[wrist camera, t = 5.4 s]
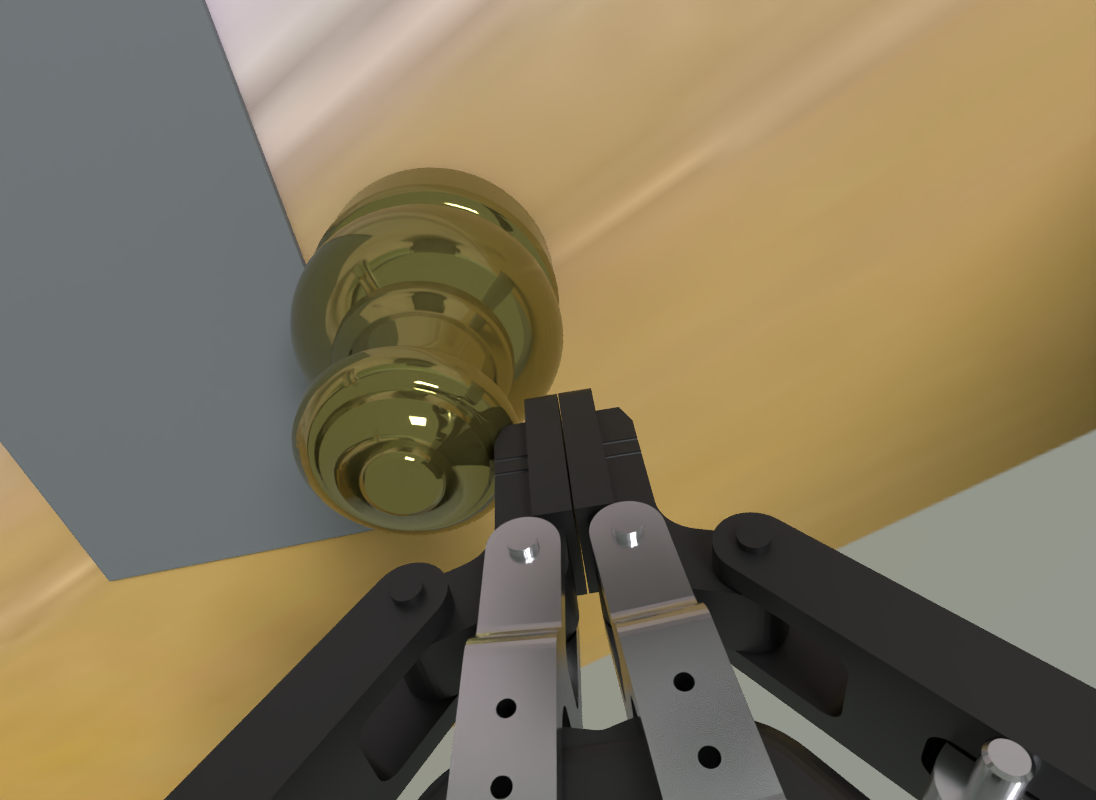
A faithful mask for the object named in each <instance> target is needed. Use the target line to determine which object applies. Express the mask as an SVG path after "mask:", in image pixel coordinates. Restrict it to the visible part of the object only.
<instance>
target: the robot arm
mask: <svg viewBox="0 0 1096 800" xmlns="http://www.w3.org/2000/svg"><path fill="white" fill-rule="evenodd" d="M558 396H559V403H560V409H559V403H558V397H557V394H553V395H547V396H541V397H535V398H529V399H524V408H525V422H524V423H518V424H512V425H506V426H503V428H502V430H501V432H500V433H499V435H498V437H497V439H496V441H495V442H494V460H495V463H494V466H495V531H494V532H493V533H492V534H491V536H490V537H489V539H488V541H487V544H486V549H485V550H484V551H483V553H481V554H480V555H479V556H478V557H477V558H475V559H474V560H472V561H471V562H469V563H467V564H465V565H463V566H460V567H458V568H456V569H453V570H451V571H449V572H446V573H443V572H442V571H441V570H440V569H439V568H437V567H436V566H434V565H431V564H427V563H411V564H407V565H403V566H401V567H398V568H396V569H394V570H392V571H391V572H389V573H388V574H386V575H385V576H384V577H383V578H382V579H381V580H380V581H379V582H378V583H377V584H376V585H375V586H374V587H373V588H372V589H371V590H370V591H369V592H368V593H367V594H366V595H365V596H364V597H363V598H362V599H361V600H360V601H359V602H358V603H357V604H356V605H355V606H354V607H353V608H352V609H351V610H350V611H349V612H348V613H347V614H346V615H345V616H344V617H343V618H342V619H341V620H340V621H339V622H338V623H337V625H336V626H335V627H334V628H333V629H332V630H331V631H330V632H329V633H328V634H327V635H326V636H325V637H324V638H323V639H322V640H321V641H320V642H319V643H318V644H317V645H316V646H315V647H314V648H313V649H312V650H311V651H310V652H309V653H308V654H307V655H306V656H305V657H304V658H303V659H302V660H301V661H300V662H299V663H298V664H297V665H296V666H295V667H294V668H293V669H292V670H291V671H290V672H289V673H288V674H287V675H286V676H285V677H284V678H283V679H282V680H281V681H280V682H279V683H278V684H277V685H276V686H275V687H274V688H273V689H272V690H271V692H270V693H269V694H268V695H267V696H266V697H265V698H264V699H263V700H262V701H261V702H260V703H259V704H258V705H257V706H256V707H255V708H254V709H253V710H252V711H251V712H250V713H249V714H248V715H247V716H246V717H245V718H244V719H243V720H242V721H241V722H240V723H239V724H238V725H237V726H236V727H235V728H234V729H233V730H232V731H231V732H230V733H229V734H228V735H227V736H226V737H225V738H224V739H223V740H222V741H221V742H220V743H219V744H218V745H217V746H216V747H215V748H214V749H213V750H212V751H211V752H210V753H209V754H208V755H207V756H206V757H205V759H204V760H203V761H202V762H201V763H200V764H199V765H198V766H197V767H196V768H195V769H194V770H193V771H192V772H191V773H190V774H189V775H188V776H187V777H186V778H185V779H184V780H183V781H182V782H181V783H180V784H179V785H178V786H177V787H176V788H175V789H174V790H173V791H172V792H171V793H170V794H169V795H168V796H167V797H166V798H165V799H164V800H396V799H397V798H398V797H399V795H400V794H401V793H402V791H403V790H404V789H405V787H406V786H407V785H408V783H409V782H410V781H411V779H412V778H413V777H414V775H415V774H416V773H417V772H418V770H419V769H420V768H421V766H422V765H423V764H424V762H425V761H426V760H427V758H428V757H429V756H430V754H431V753H432V752H433V750H434V749H435V748H436V746H437V745H438V744H439V743H440V741H441V740H442V739H443V737H444V736H445V735H446V733H447V732H448V731H449V729H450V728H451V727H452V725H453V724H454V723H455V722H456V723H455V731H454V740H453V748H452V756H451V766H450V769H448V770H447V771H446V772H444V773H443V774H442V775H441V776H440V777H439V778H437V779H436V780H435V781H434V782H433V783H432V784H431V785H430V786H429V787H428V788H427V790H426V791H425V792H424V793H423V794H422V795H421V796H420V798H419V799H418V800H870V799H869V798H868V797H866V796H865V795H864V794H863V793H862V792H860V791H859V790H858V789H857V788H855V787H854V786H853V785H852V784H850V783H849V782H848V781H847V780H845V779H844V778H843V777H841V776H840V775H839V774H838V773H837V772H836V771H834V770H833V769H832V768H831V767H829V766H828V765H827V764H826V763H824V762H823V761H822V760H821V759H819V758H818V757H817V756H816V755H814V754H813V753H812V752H811V751H809V750H808V749H807V748H805V747H804V746H803V745H802V744H800V743H799V742H797V741H796V740H794V739H793V738H791V737H789V736H788V735H786V734H785V733H783V732H781V731H779V730H777V729H774V728H772V727H770V726H768V725H765V724H762V723H759V722H756V721H754V719H753V717H752V715H751V712H750V710H749V707H748V705H747V702H746V700H745V697H744V695H743V693H742V690H741V688H740V685H739V683H738V680H737V678H736V676H735V673H734V671H733V668H732V666H731V664H732V665H733V666H734V667H736V668H737V669H738V670H740V671H741V672H743V673H744V674H745V675H747V676H748V677H749V678H751V679H752V680H754V681H755V682H756V683H758V684H759V685H761V686H762V687H763V688H765V689H766V690H767V691H769V692H770V693H771V694H773V695H774V696H776V697H777V698H778V699H780V700H781V701H782V702H784V703H785V704H787V705H788V706H790V707H791V708H792V709H794V710H795V711H796V712H798V713H799V714H801V715H802V716H803V717H805V718H806V719H807V720H809V721H810V722H811V723H813V724H814V725H816V726H817V727H818V728H820V729H821V730H823V731H824V732H825V733H827V734H828V735H829V736H831V737H832V738H834V739H835V740H836V741H838V742H839V743H841V744H842V745H843V746H844V747H846V748H847V749H849V750H850V751H851V752H853V753H854V754H856V755H857V756H858V757H860V758H861V759H862V760H864V761H865V762H867V763H868V764H869V765H871V766H872V767H874V768H875V769H876V770H878V771H879V772H881V773H882V774H883V775H885V776H886V777H887V778H889V779H890V780H891V781H893V782H894V783H895V784H897V785H898V786H900V787H901V788H902V789H904V790H905V791H907V792H908V793H909V794H911V795H912V796H913V797H915V798H916V799H918V800H1096V689H1095V688H1093V687H1091V686H1089V685H1087V684H1085V683H1083V682H1082V681H1080V680H1078V679H1076V678H1074V677H1072V676H1070V675H1068V674H1067V673H1065V672H1063V671H1061V670H1059V669H1057V668H1055V667H1054V666H1051V665H1050V664H1048V663H1046V662H1044V661H1042V660H1040V659H1039V658H1036V657H1035V656H1033V655H1031V654H1029V653H1027V652H1025V651H1023V650H1022V649H1020V648H1018V647H1016V646H1014V645H1012V644H1010V643H1008V642H1007V641H1005V640H1003V639H1001V638H999V637H997V636H995V635H994V634H992V633H990V632H988V631H986V630H984V629H982V628H980V627H979V626H977V625H975V624H973V623H971V622H969V621H967V620H965V619H964V618H961V617H960V616H958V615H956V614H954V613H952V612H950V611H949V610H946V609H945V608H943V607H941V606H939V605H937V604H935V603H933V602H932V601H930V600H928V599H926V598H924V597H922V596H920V595H919V594H917V593H915V592H913V591H911V590H909V589H907V588H905V587H904V586H902V585H900V584H898V583H896V582H894V581H892V580H890V579H889V578H887V577H885V576H883V575H881V574H879V573H877V572H875V571H873V570H872V569H870V568H868V567H866V566H864V565H862V564H860V563H859V562H857V561H855V560H853V559H851V558H849V557H847V556H845V555H843V554H842V553H840V552H838V551H836V550H834V549H832V548H830V547H829V546H827V545H825V544H823V543H821V542H819V541H817V540H815V539H814V538H812V537H810V536H808V535H806V534H804V533H802V532H800V531H799V530H797V529H795V528H793V527H791V526H789V525H787V524H786V523H784V522H782V521H780V520H778V519H776V518H774V517H772V516H769V515H765V514H761V513H752V512H749V513H740V514H736V515H733V516H730V517H728V518H726V519H724V520H723V521H722V522H721V523H720V524H719V525H718V526H717V527H716V529H715V531H713V530H703V529H694V528H688V527H685V526H681V525H679V524H676V523H674V522H672V521H671V520H669V519H668V518H666V517H665V516H664V515H663V514H662V513H661V512H660V511H659V509H658V508H657V506H656V503H655V500H654V497H653V493H652V489H651V486H650V482H649V479H648V475H647V471H646V468H645V464H644V461H643V457H642V454H641V450H640V446H639V443H638V440H637V435H636V432H635V428H634V425H633V421H632V420H631V419H630V418H629V417H628V416H627V415H626V414H625V413H624V412H623V411H622V410H621V409H620V408H619V407H616V408H610V409H604V410H598V411H596V410H595V406H594V401H593V396H592V391H591V388H589V389H583V390H577V391H571V392H565V393H558ZM560 411H561V414H560ZM561 418H562V420H561ZM562 425H563V426H562ZM580 543H581V545H580ZM581 549H582V552H581ZM582 555H583V559H582ZM583 560H584V566H585V572H586V577H587V583H588V588H589V593H595V592H599V596H600V602H601V608H602V613H603V619H604V625H605V631H606V635H607V639H608V643H609V647H610V651H611V655H612V658H613V662H614V666H615V670H616V674H617V678H618V682H619V686H620V690H621V694H622V698H623V702H624V706H625V710H626V714H627V718H628V720H626V721H624V722H621V723H619V724H617V725H615V726H612V727H610V728H607V729H604V730H589V729H583V724H582V702H581V671H580V640H579V628H578V622H579V609H578V601H577V595H584V594H587V588H586V581H585V573H584V566H583Z"/></svg>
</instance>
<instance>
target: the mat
mask: <svg viewBox="0 0 1096 800" xmlns="http://www.w3.org/2000/svg"><path fill="white" fill-rule="evenodd" d="M305 267H306V264H305V261H304V258H303V256H302V253H301V251H300V248H299V245H298V243H297V240H296V237H295V235H294V232H293V230H292V227H291V224H290V222H289V219H288V217H287V214H286V211H285V209H284V206H283V203H282V201H281V198H280V196H279V193H278V190H277V188H276V185H275V183H274V180H273V177H272V175H271V172H270V169H269V167H268V164H267V162H266V159H265V156H264V154H263V151H262V148H261V146H260V143H259V141H258V138H257V135H256V133H255V130H254V128H253V125H252V122H251V120H250V117H249V114H248V112H247V109H246V107H245V104H244V101H243V99H242V96H241V94H240V91H239V88H238V86H237V83H236V80H235V78H234V75H233V73H232V70H231V67H230V65H229V62H228V59H227V57H226V54H225V52H224V49H223V46H222V44H221V41H220V39H219V36H218V33H217V31H216V28H215V25H214V23H213V20H212V18H211V15H210V12H209V10H208V7H207V5H206V2H205V0H0V442H1V443H2V444H3V446H4V447H5V448H6V449H7V451H8V452H9V453H10V455H11V456H12V457H13V458H14V460H15V461H16V462H17V464H18V465H19V466H20V467H21V469H22V470H23V471H24V473H25V474H26V475H27V476H28V478H29V479H30V480H31V481H32V483H33V484H34V485H35V487H36V488H37V489H38V490H39V492H40V493H41V494H42V496H43V497H44V498H45V499H46V501H47V502H48V503H49V505H50V506H51V507H52V508H53V510H54V511H55V512H56V514H57V515H58V516H59V517H60V519H61V520H62V521H63V522H64V524H65V525H66V526H67V528H68V529H69V530H70V531H71V533H72V534H73V535H74V537H75V538H76V539H77V540H78V542H79V543H80V544H81V546H82V547H83V548H84V549H85V551H86V552H87V553H88V554H89V556H90V557H91V558H92V560H93V561H94V562H95V563H96V565H97V566H98V567H99V569H100V570H101V571H102V572H103V574H104V575H105V576H106V578H107V579H108V580H109V581H112V580H117V579H123V578H128V577H133V576H138V575H143V574H148V573H154V572H159V571H164V570H169V569H174V568H179V567H185V566H190V565H195V564H200V563H205V562H211V561H216V560H221V559H226V558H231V557H236V556H242V555H247V554H252V553H257V552H262V551H267V550H273V549H278V548H283V547H288V546H293V545H298V544H304V543H309V542H314V541H319V540H324V539H329V538H335V537H340V536H345V535H350V534H355V533H360V532H366V531H371V530H375V529H372V528H369V527H366V526H363V525H360V524H358V523H356V522H353V521H351V520H349V519H347V518H346V517H344V516H342V515H340V514H339V513H337V512H336V511H334V510H333V509H331V508H330V507H329V506H327V505H326V504H325V503H324V502H323V501H321V500H320V499H319V498H318V497H317V496H316V495H315V494H314V492H313V491H312V490H311V489H310V488H309V486H308V485H307V483H306V482H305V481H304V479H303V477H302V475H301V474H300V472H299V469H298V467H297V465H296V462H295V459H294V454H293V449H292V429H293V422H294V418H295V413H296V410H297V407H298V405H299V402H300V400H301V398H302V396H303V394H304V393H305V391H306V390H307V388H308V387H309V385H308V383H307V381H306V380H305V378H304V376H303V374H302V372H301V370H300V367H299V365H298V363H297V360H296V357H295V354H294V350H293V346H292V341H291V333H290V312H291V304H292V299H293V294H294V291H295V288H296V285H297V283H298V280H299V278H300V276H301V274H302V272H303V270H304V268H305Z"/></svg>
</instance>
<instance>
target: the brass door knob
mask: <svg viewBox="0 0 1096 800" xmlns="http://www.w3.org/2000/svg"><path fill="white" fill-rule="evenodd" d="M290 333H291V341H292V346H293V350H294V354H295V357H296V360H297V363H298V365H299V367H300V370H301V372H302V374H303V376H304V378H305V380H306V381H307V383H308V385H309V387H308V388H307V390H306V391H305V393H304V394H303V396H302V398H301V400H300V402H299V405H298V407H297V410H296V413H295V418H294V422H293V429H292V449H293V454H294V459H295V462H296V465H297V467H298V469H299V472H300V474H301V475H302V477H303V479H304V481H305V482H306V483H307V485H308V486H309V488H310V489H311V490H312V491H313V492H314V494H315V495H316V496H317V497H318V498H319V499H320V500H321V501H323V502H324V503H325V504H326V505H327V506H329V507H330V508H331V509H333V510H334V511H336V512H337V513H339V514H340V515H342V516H344V517H346V518H347V519H349V520H351V521H353V522H356V523H358V524H360V525H363V526H366V527H369V528H372V529H375V530H379V531H383V532H388V533H394V534H403V535H426V534H435V533H441V532H446V531H450V530H453V529H457V528H460V527H462V526H465V525H467V524H470V523H472V522H474V521H476V520H477V519H479V518H481V517H483V516H484V515H485V514H487V513H488V512H490V511H491V510H492V509H493V508H495V466H494V463H495V460H494V442H495V441H496V439H497V437H498V435H499V433H500V432H501V430H502V428H503V426H506V425H512V424H518V423H522V422H523V421H524V420H525V408H524V399H529V398H535V397H541V396H546V395H547V393H548V391H549V389H550V388H551V386H552V384H553V381H554V379H555V377H556V374H557V371H558V368H559V365H560V361H561V356H562V349H563V327H562V318H561V313H560V308H559V295H558V287H557V283H556V278H555V275H554V272H553V267H552V261H551V257H550V253H549V250H548V247H547V244H546V242H545V239H544V237H543V235H542V233H541V231H540V229H539V228H538V226H537V225H536V223H535V221H534V220H533V219H532V217H531V216H530V215H529V213H528V212H527V211H526V210H525V209H524V208H523V207H522V206H521V205H520V204H519V203H518V202H517V201H516V200H515V199H514V198H513V197H512V196H510V195H509V194H508V193H506V192H505V191H504V190H502V189H501V188H499V187H497V186H496V185H494V184H492V183H490V182H488V181H486V180H484V179H482V178H480V177H477V176H475V175H472V174H468V173H465V172H462V171H457V170H452V169H444V168H417V169H410V170H405V171H401V172H397V173H394V174H391V175H388V176H386V177H384V178H381V179H379V180H377V181H375V182H374V183H372V184H370V185H369V186H367V187H366V188H364V189H363V190H362V191H360V192H359V193H358V194H357V195H356V196H354V197H353V198H352V199H351V200H350V201H349V203H348V204H347V205H346V206H345V207H344V208H343V210H342V211H341V213H340V214H339V216H338V217H337V219H336V220H335V222H334V223H333V224H332V225H331V226H330V227H329V229H328V230H327V231H326V233H325V234H324V236H323V238H322V239H321V241H320V243H319V245H318V247H317V249H316V251H315V254H314V255H313V256H312V258H311V259H310V260H309V262H308V263H307V265H306V267H305V268H304V270H303V272H302V274H301V276H300V278H299V280H298V283H297V285H296V288H295V291H294V294H293V299H292V304H291V312H290Z"/></svg>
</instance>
